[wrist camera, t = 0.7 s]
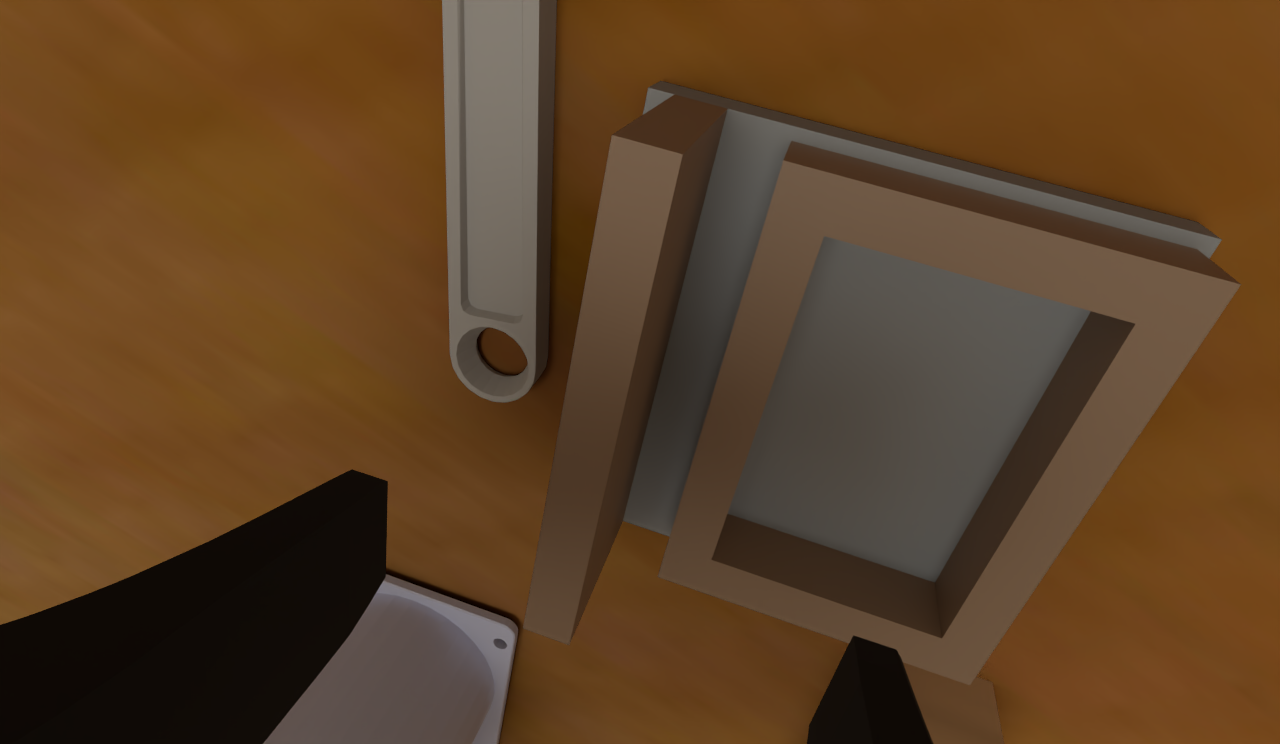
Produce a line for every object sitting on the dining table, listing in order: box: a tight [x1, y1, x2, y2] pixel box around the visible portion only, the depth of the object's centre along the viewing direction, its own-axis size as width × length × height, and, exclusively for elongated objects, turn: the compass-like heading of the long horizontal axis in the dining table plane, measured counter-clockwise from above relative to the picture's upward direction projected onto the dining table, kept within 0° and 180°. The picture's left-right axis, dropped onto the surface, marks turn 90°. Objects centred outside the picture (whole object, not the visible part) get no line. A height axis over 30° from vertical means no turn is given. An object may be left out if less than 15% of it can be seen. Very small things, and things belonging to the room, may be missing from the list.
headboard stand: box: [523, 81, 1241, 685], centre depth 17 cm, size 12×12×6 cm
